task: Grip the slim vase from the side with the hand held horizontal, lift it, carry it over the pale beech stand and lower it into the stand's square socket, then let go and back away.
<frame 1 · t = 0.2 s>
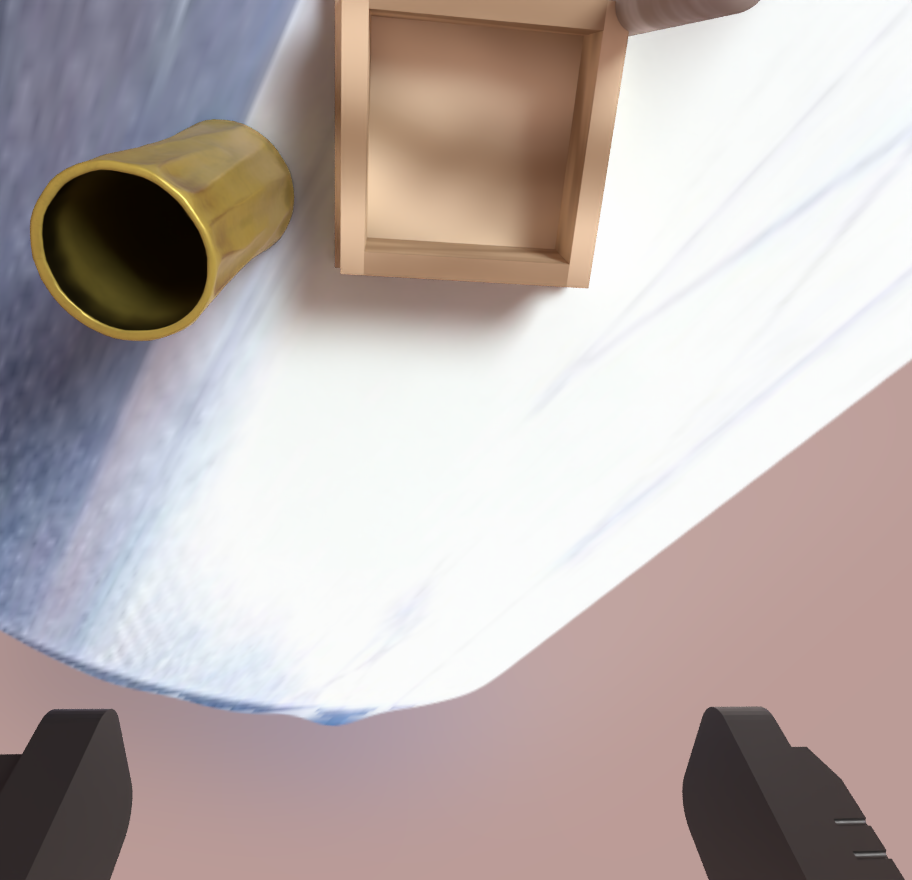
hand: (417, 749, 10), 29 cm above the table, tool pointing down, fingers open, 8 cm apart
stand: (467, 139, 33), on the table
vase: (229, 190, 34), on the table
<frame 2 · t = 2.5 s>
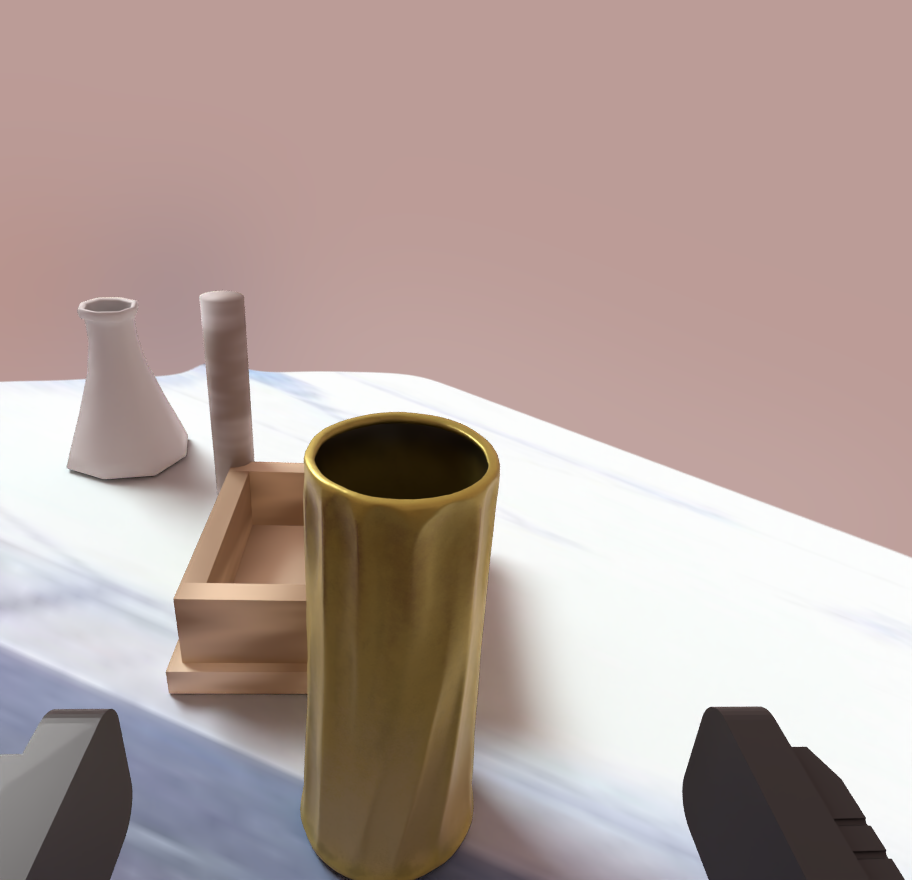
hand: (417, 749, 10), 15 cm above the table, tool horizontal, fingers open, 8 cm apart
stand: (330, 599, 35), on the table
flask: (131, 457, 46), on the table
vase: (387, 805, 26), on the table
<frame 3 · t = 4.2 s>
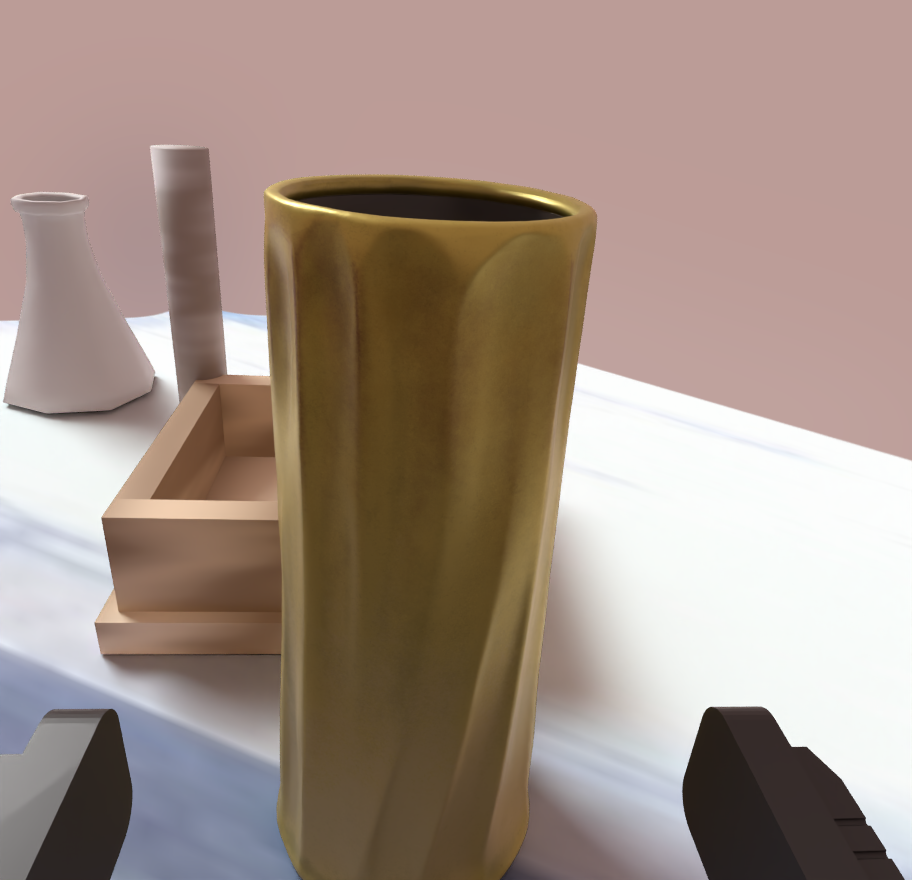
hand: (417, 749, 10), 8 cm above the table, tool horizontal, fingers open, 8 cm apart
stand: (323, 541, 27), on the table
flask: (85, 394, 39), on the table
vase: (404, 803, 18), on the table
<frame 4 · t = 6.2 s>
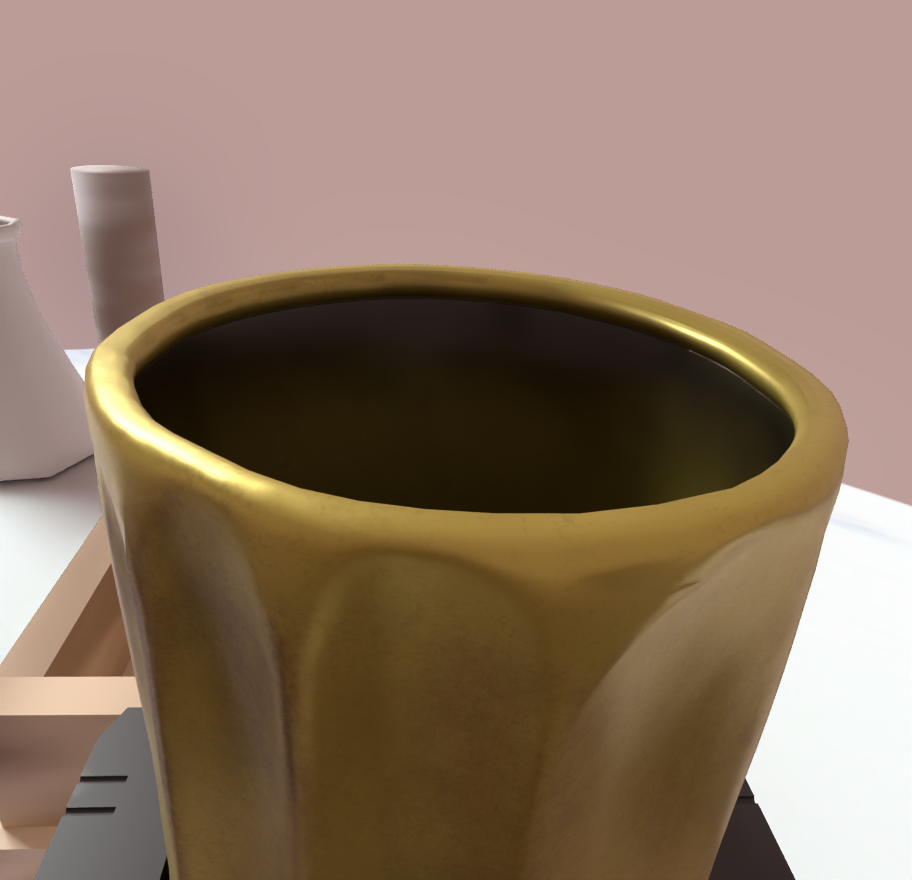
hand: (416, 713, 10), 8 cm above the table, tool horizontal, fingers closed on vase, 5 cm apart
stand: (298, 676, 21), on the table
flask: (24, 452, 32), on the table
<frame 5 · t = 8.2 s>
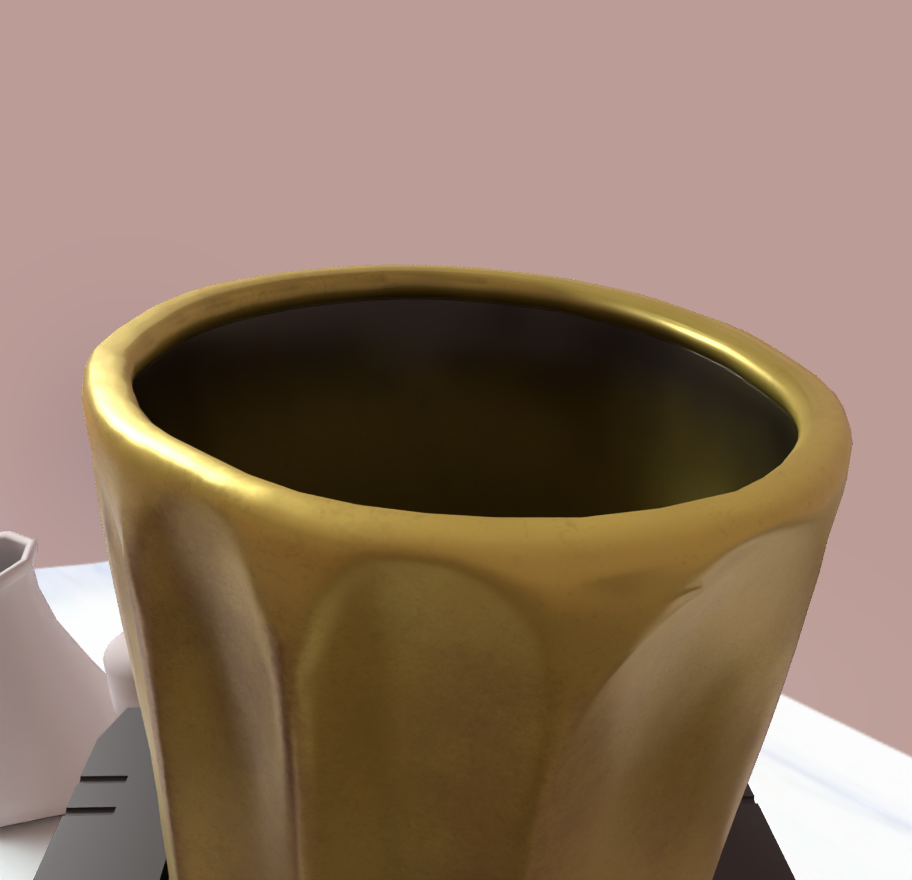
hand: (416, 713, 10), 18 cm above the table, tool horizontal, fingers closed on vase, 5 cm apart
flask: (40, 756, 30), on the table
when the fingers open (10 cm above the table, at t = 10.7 s): vase drops 1 cm, resting on stand.
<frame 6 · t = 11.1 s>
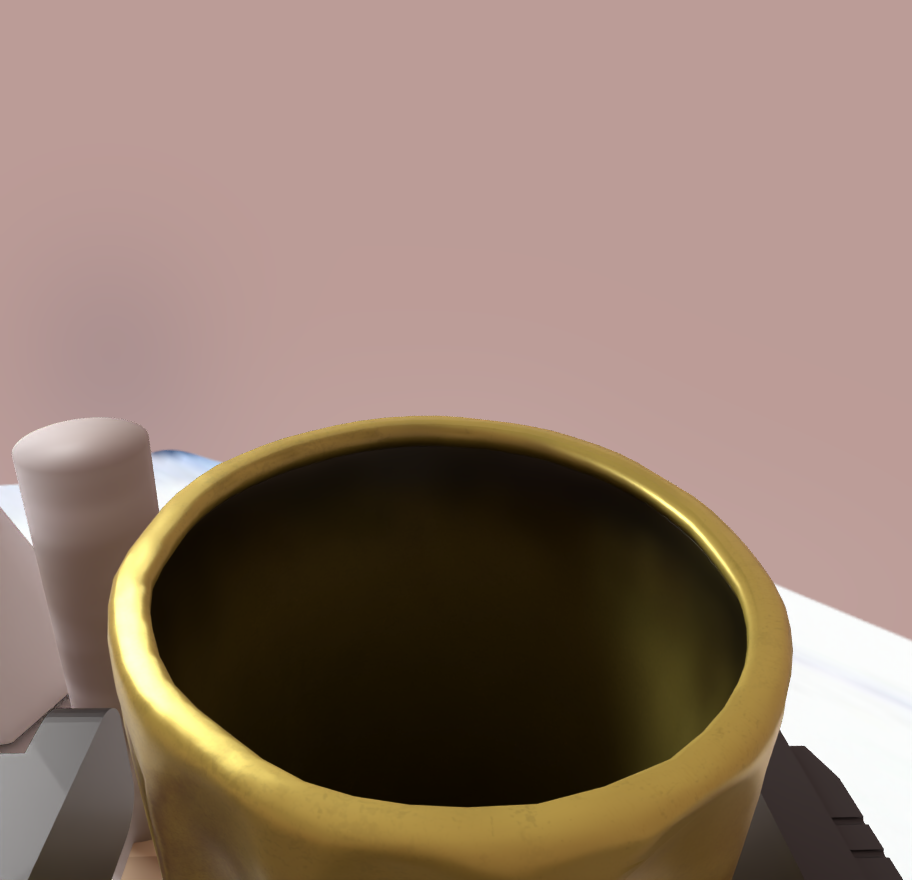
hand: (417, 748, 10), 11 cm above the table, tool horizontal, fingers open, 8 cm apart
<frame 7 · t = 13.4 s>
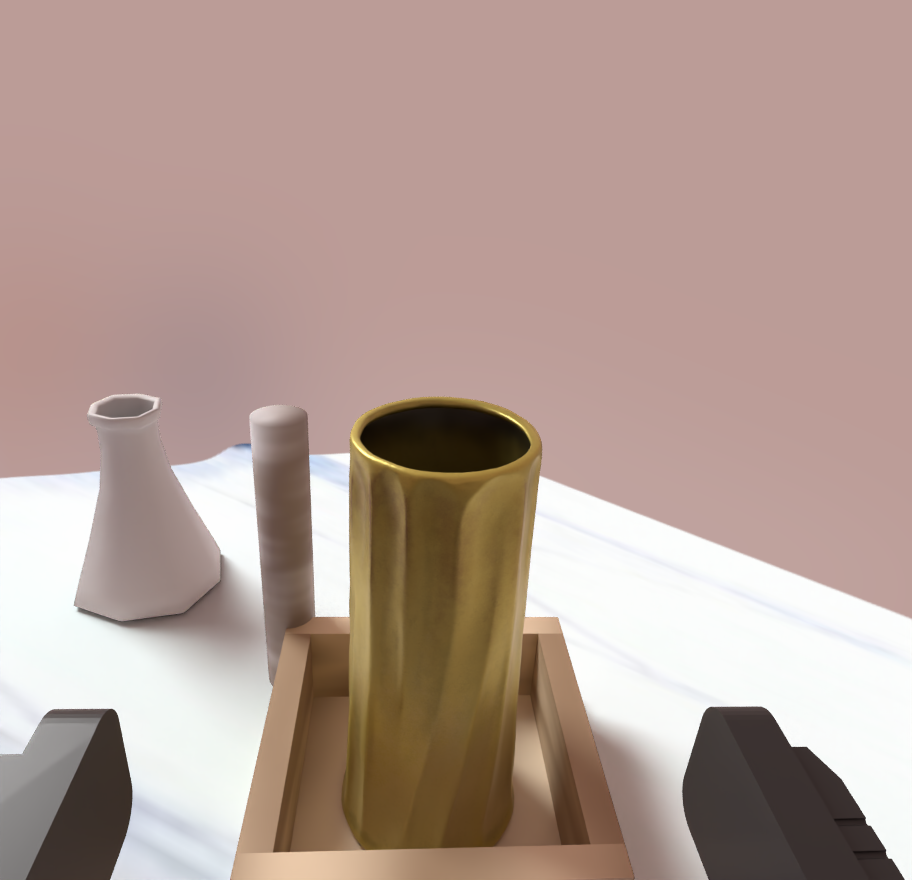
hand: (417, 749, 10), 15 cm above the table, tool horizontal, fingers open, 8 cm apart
stand: (424, 813, 26), on the table
flask: (152, 583, 38), on the table
vase: (427, 797, 26), point 1 cm above the table, touching stand
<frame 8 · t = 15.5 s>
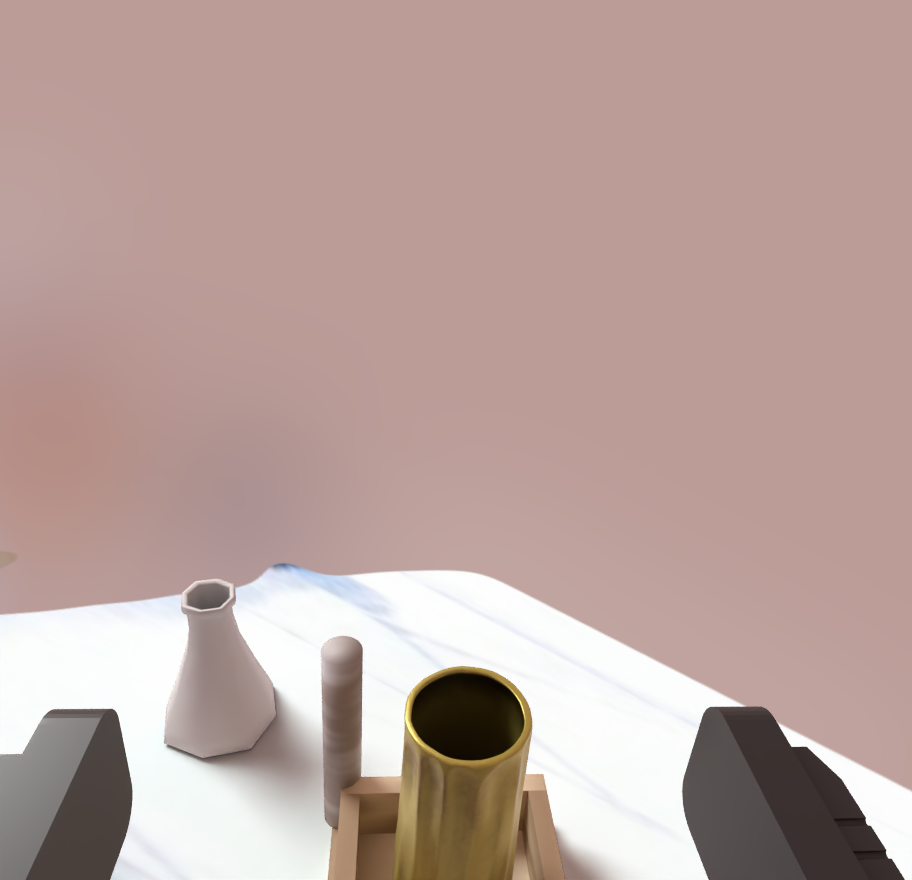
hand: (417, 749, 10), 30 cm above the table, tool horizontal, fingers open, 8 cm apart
flask: (221, 717, 47), on the table
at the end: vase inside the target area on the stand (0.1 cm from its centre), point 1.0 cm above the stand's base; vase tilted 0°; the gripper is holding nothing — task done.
